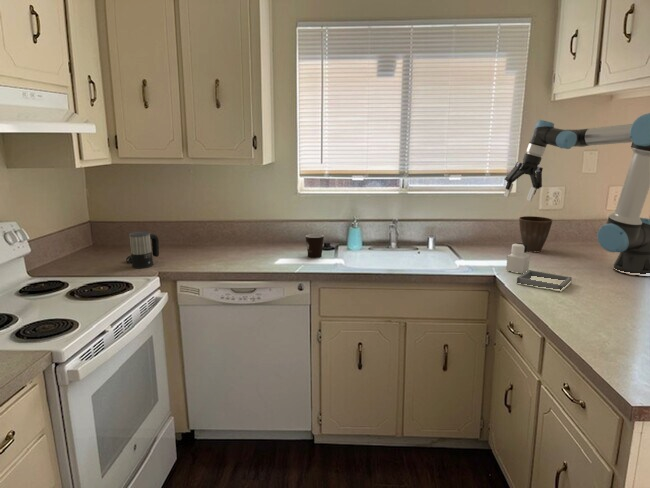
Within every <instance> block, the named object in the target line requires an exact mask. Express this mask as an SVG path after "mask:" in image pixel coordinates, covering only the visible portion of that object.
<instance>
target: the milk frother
mask: <svg viewBox="0 0 650 488" xmlns="http://www.w3.org/2000/svg"><path fill="white" fill-rule="evenodd" d="M128 236H129V244H130V245H129V247H130V255H129V256H127V257H126V258H125V261H126V263H128V264H131V267H132V269H133V268H134V269H145V268H150V267H153V266H154V261H153V257H157V258H158V257H159V256H160V247H159V244H160V243H159V237H158V236H157V235H156V234H154V233H151V231H146V230H145V231H133V232H131V233H130V232H129V234H128Z"/></svg>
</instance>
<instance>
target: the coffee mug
mask: <svg viewBox="0 0 650 488" xmlns="http://www.w3.org/2000/svg"><path fill="white" fill-rule="evenodd" d="M324 236H325V235H324V234H321V233H309V234H306V235H305V242H306V250H307V257H308V258H311V259H317V258H318V259H319V258H321V257H322V254H323V247H324Z"/></svg>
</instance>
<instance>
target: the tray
mask: <svg viewBox="0 0 650 488" xmlns="http://www.w3.org/2000/svg"><path fill="white" fill-rule="evenodd" d="M531 276H537V277H544V278H551V279H558V280H565V281H563V282H562V283H561V284H560V285H558V284H553V283H547V282H542V281H536V280H531V279H530V278H531ZM572 278H573V277H572V276H568V275H567V276H565V275H560V274H555V273H554V274H553V273H547V272H543V271H536V270H533V269H532V270H530V269H529V270H528V271H527V272H525V273H524V274H520V275H519V276H518V277H517V278H516V284H517V283H521V284H527V285H533V286H538V287H546V288H553V289H560V290H561V289H562V288H563V287H565V286H566V285H567V284H568V283H569V282H570V281H571V282H572Z"/></svg>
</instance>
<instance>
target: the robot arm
mask: <svg viewBox="0 0 650 488" xmlns="http://www.w3.org/2000/svg"><path fill="white" fill-rule="evenodd" d="M629 143H630V144H631V145H630V149H631V150H632V151H633V154H632V158H631V160H630V164H629V167H628V170H627V173H626V176H625V179H624V182H623V186H622V189H621V191H620V195H619V198H618V201H617V204H616V206H615V210H614V212H612V213H610V214H609V215H608V218H607V220H606V223H605V224H603V225H602V226H600V228H599V229H598V231H597V236H596V237H597V242H598V243H599V245H600V246H601V248H602V249H603V250H605V251H607V252H609V253H619V254H618V256H617V258H616V260H615V262H614V264H613V268H615V269H617V270H620V271H624V272H630V273H640V274H646V273H650V218H647V217H640V216H641V215H642V210H643V208H644V206H645V205H644V204H645V202H646V199H647V195H648V193H649V192H650V191H649V190H650V112H648V113H644V114H642V115H640V116H639V117H637V118H636V119H635V120H634V121H633V122H632V123H625V124H617V125H609V126H601V127H599V126H598V127H592V128H582V129H579V128H578V129H563V128H558V127H555V123H554V122H552V121H548V120H544V119H539V120H537V121H536V123H535V126H534V128H533V130H532V134H531V137H530V140H529V142H528V145H527V146H526V153H524V156H523V158H522V162H519V161H517V162H516V163H515V166H514V167H513V168H512V169H511V170H510V172H509V173H508V174H507V175H506V176H505V177H504V180H505V181H506V184H505V185H506V186H505V191H504V193H503V196H504V197H506V198H509V197H510V195H511V192H512V189H513V186H514V183H515V181H517V180H518V179H519V178H520V177H521V176H523V175H528V176H529V177H530V181H531V185H532V186H531V187H530V189H529V192H528V194H527V197H526V199H525V200H526V201H528V202H530V203H531V202H532V201H533V198H534V195H536V193H537V190H539V189H541V188H542V187H543V184H542V183H543V179H542V178H543V176H542V175H543V174H542V173H543V169H544V168H543V167H541V166H539V165H540V164H541V161H542V159H543V158H542V157H543V156H544V153H545V151H546V147H547V145H550V146H553V147H556V148H559V149H566V150H569V149H572V148H574V147H579V148H582V147H590V146H604V145H614V144H615V145H616V144H617V145H618V144H629Z"/></svg>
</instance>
